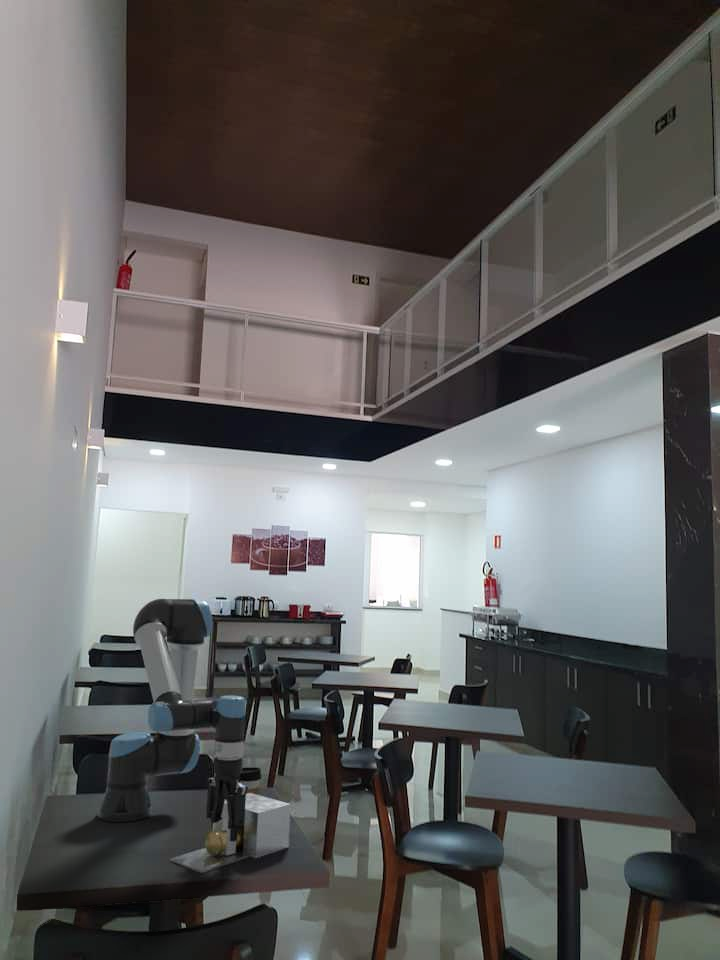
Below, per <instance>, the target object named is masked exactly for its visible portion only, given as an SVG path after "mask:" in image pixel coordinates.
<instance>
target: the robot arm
mask: <svg viewBox="0 0 720 960" xmlns="http://www.w3.org/2000/svg"><path fill="white" fill-rule="evenodd" d="M212 615H213V614H212V610H211V607H210V605H209V604H208V603H207V602H206V601H205V600H201V599H194V598H157V599H154V600H151V601H149V602H148V603H146V604H145V605H144V606H143V607H142V608H141V609H140V610H139V612H138V613H137V614H136V616H135V618H134V621H133V627H132V634H133V638H134V640H135V643H136V644H137V645H138V646H140V650H141V651H140V652H141V656H142V659H143V663H144V667H145V672H146V677H147V681H148V684H149V688H150V693H151V696H152V700H153V702H152V703H151V704H150V705H149V708H148V712H147V717H148V721H147V722H148V726H149V729H150V730H151V731H152V732H156V735H154V736H152V735H151V733H150V732H149V731H145V730H142V731H130V732H126V733H123V734H120V735H117V736H116V737H114V738H113V739H112V740H111V742H110V747H109V751H108V766H107V767H108V768H107V769H108V770H107V779H106V780H107V781H106V790H105V793H104V795H103V797H102V800H101V803H100V806H99V808H98V815H97V816H98V818H99V819H100V820H102V821H106V822H110V823H111V822H112V823H128V822H136V821H139V820H144V819H147V818H148V817H150V816H151V814H152V803H151V799H150V795H149V789H148V778H149V777H157V776H165V775H181V774H183V773H189V772H191V771H192V770H193V769H194V768H195V767H196V765H197V764H198V761H199V757H200V753H201V752H200V750H201V745H200V743H201V741H200V737H199V735H198V734H197V733H196V732H195V731H196V730H202V729H203V730H204V729H205V730H206V729H214V730H215V735H214V736H215V737H214V742H215V743H214V756H215V758H213V773H214V774H215V775H214V777H211V778H210V777H209V778H207V779H206V784H207V797H206V798H207V799H206V814H205V816H206V819H210V822H211V828H210V829H211V831H210V832H213V831H215V832H219V831H222V826H223V821H219V820H222V819H223V818H222V817H221V815H222V810H223V806H224V801H225V799H226V800H227V807H228V818H229V826H228V827H227V834H226V852H225V855H230V854H233V853H235V850H236V840H237V836H238V835H237V834H238V827H239V826H242V825H244V821H245V801H246V793H247V790H248V787H247V786H243V785H242V784H241V783H240V778H239V775H240V773H241V772H242V768H243V762H244V760H243V759H244V758H242V757H243V755H244V748H245V747H244V743H245V742H244V740H245V739H244V737H245V726H246V725H245V723H246V714H247V709H246V698H245V697H243V696H241V695H230V694H229V695H221V696H220V697H207V698H205V699H197V700H194V692H195V687H196V686H195V685H196V684H195V683H196V674H197V666H198V665H197V663H198V654H199V648H200V647H202V646H203V645H204V642H205V638H208V637H209V636H210V635H211V634H212V631H213V616H212ZM169 647H170V649H169Z"/></svg>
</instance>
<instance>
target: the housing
mask: <svg viewBox="0 0 720 960" xmlns="http://www.w3.org/2000/svg"><path fill="white" fill-rule="evenodd" d="M221 817H222V818H223V819H222V820H219V821H223V826H222V831H223V830H226V829H227V827H228V826H229V818H228V807H227V800H226V799H225V801H224V806H223V810H222V815H221ZM290 822H291V803H288V802H284V801H281V800H277V799H274V798H271V797H267V796H263V795H261V794H258V795H256V794H253V793H247V794H246V801H245V821H244V826H245V827H244V845H241V846H238V847H236V850H235V853H233V854H230V855H225V852H226V851H222V852H220V853H219V854H218V855H216V856H211V855H210V854H209V853H208V852H207V849H206V847H203V848H200V849H197V850H194V851H191V852H187V853H184V854H181V855H177V856H174V857H170V862H172V863H174V864H177V865H180V866H182V867H184V868H187V869H190V870H192V871H194V872H197V873H199V874H204V873H207V872H210V871H213V870H216V869H217V868H222V867H224V866H227V865H231V864H233V863H235V862H238V861H241V860H245V859H248V858H254V859H258V857H259V858H262V857H264V855H265V856H267V854H268V855H270V853H271V854H274V853H276V852H279V851H282V850H284V849H287V848H290V825H291V824H290ZM261 856H262V857H261Z"/></svg>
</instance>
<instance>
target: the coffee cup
mask: <svg viewBox="0 0 720 960" xmlns="http://www.w3.org/2000/svg"><path fill="white" fill-rule="evenodd" d="M261 771H262V770H261V768H260V767H256V766H255V767H251V766H250V767H249V766H248V767H247V766H246V767H242V772H241V773H240V775H239V778H240V783H241V784H242V785H243V786H247V787H248V790H247V793H253V794H256V795H260V794H259V793H260V780H261V779H262V773H261ZM247 793H246V794H247Z"/></svg>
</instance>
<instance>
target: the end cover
mask: <svg viewBox="0 0 720 960" xmlns="http://www.w3.org/2000/svg"><path fill="white" fill-rule="evenodd" d="M244 827H245V826H244V825H242V826H239V827H238V834H237V835H238V836H237V840H236V847H238V846H241V845H244ZM226 834H227V829H226V830H223V831H219V832H215V831H213V832H211V831H210V832H208V833H207V835H206V837H205V842H204V845H205V848H206V849H207V852H208V853H209V854H210V855H211V856H216V855H218V854H219V853H220V852H222V851H226Z"/></svg>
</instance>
